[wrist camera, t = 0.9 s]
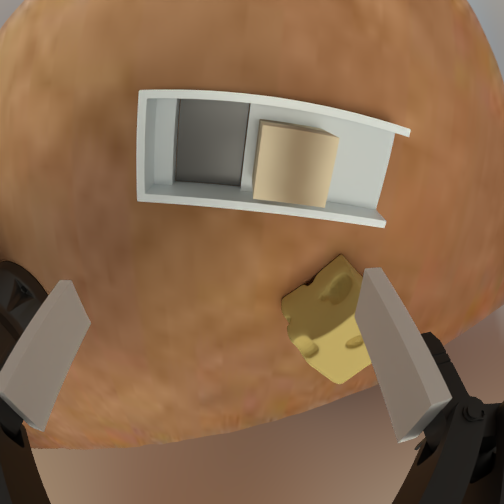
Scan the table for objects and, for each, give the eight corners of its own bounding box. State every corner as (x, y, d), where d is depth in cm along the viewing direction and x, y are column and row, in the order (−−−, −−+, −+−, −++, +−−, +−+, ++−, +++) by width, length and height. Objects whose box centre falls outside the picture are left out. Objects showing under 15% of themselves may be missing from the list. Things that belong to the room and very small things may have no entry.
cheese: (279, 298, 38) (286, 357, 30) (343, 247, 34) (370, 300, 26) (325, 333, 42) (338, 387, 33) (382, 291, 38) (409, 342, 30)
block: (251, 177, 28) (253, 198, 23) (259, 118, 25) (262, 125, 20) (310, 185, 29) (324, 207, 24) (321, 128, 26) (339, 137, 21)
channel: (150, 186, 30) (137, 201, 26) (154, 89, 25) (138, 90, 21) (369, 210, 32) (384, 228, 28) (390, 123, 26) (410, 129, 23)
